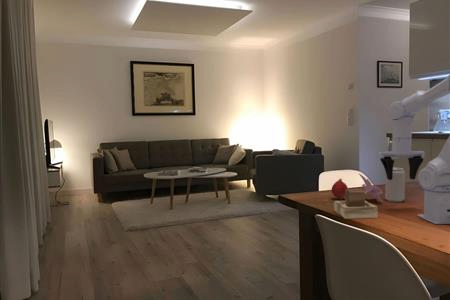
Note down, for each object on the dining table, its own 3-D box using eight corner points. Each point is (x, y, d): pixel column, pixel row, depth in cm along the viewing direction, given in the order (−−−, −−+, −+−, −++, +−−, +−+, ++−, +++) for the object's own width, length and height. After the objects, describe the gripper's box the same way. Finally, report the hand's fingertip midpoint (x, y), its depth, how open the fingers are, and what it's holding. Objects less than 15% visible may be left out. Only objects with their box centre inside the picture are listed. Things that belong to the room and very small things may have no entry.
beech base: (377, 217, 113) (377, 207, 113) (345, 218, 113) (345, 207, 113) (364, 209, 123) (364, 200, 123) (334, 210, 123) (334, 200, 123)
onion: (330, 200, 139) (330, 179, 138) (333, 197, 144) (333, 177, 143) (346, 201, 136) (346, 180, 135) (349, 198, 141) (349, 177, 140)
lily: (381, 209, 127) (393, 184, 128) (348, 194, 132) (359, 170, 132) (377, 212, 139) (388, 189, 140) (347, 198, 143) (357, 176, 144)
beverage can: (406, 202, 133) (407, 169, 132) (387, 202, 134) (387, 169, 133) (401, 199, 139) (402, 167, 138) (383, 198, 140) (384, 167, 139)
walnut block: (364, 207, 116) (364, 191, 116) (350, 208, 116) (350, 192, 116) (359, 204, 121) (359, 189, 120) (345, 204, 120) (345, 189, 120)
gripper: (416, 137, 127) (415, 176, 128) (374, 138, 126) (374, 177, 127) (428, 138, 120) (427, 180, 121) (384, 139, 119) (383, 181, 120)
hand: (401, 179), depth 123 cm, fingers open, 7 cm apart
